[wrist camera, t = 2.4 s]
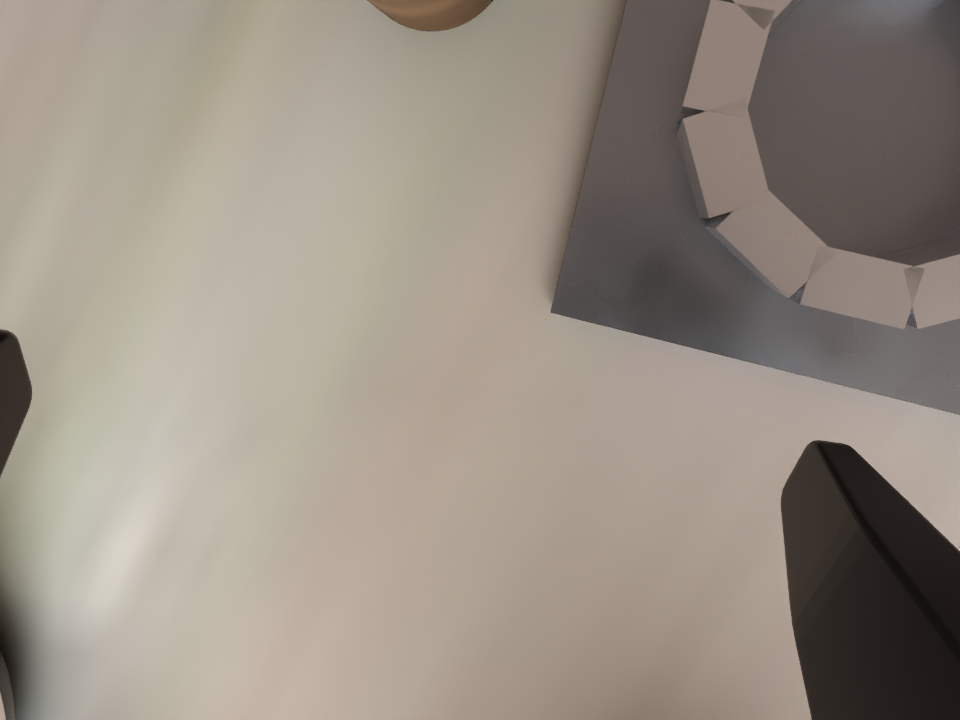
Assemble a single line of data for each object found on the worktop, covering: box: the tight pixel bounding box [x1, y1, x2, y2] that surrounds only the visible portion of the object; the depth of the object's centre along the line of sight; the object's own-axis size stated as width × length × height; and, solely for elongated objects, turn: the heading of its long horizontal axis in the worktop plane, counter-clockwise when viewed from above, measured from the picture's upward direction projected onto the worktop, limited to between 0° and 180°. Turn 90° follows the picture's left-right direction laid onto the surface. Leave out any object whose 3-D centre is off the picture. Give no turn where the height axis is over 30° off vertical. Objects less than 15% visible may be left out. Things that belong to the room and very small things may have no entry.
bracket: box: [551, 0, 960, 415], centre depth 17 cm, size 12×12×4 cm
